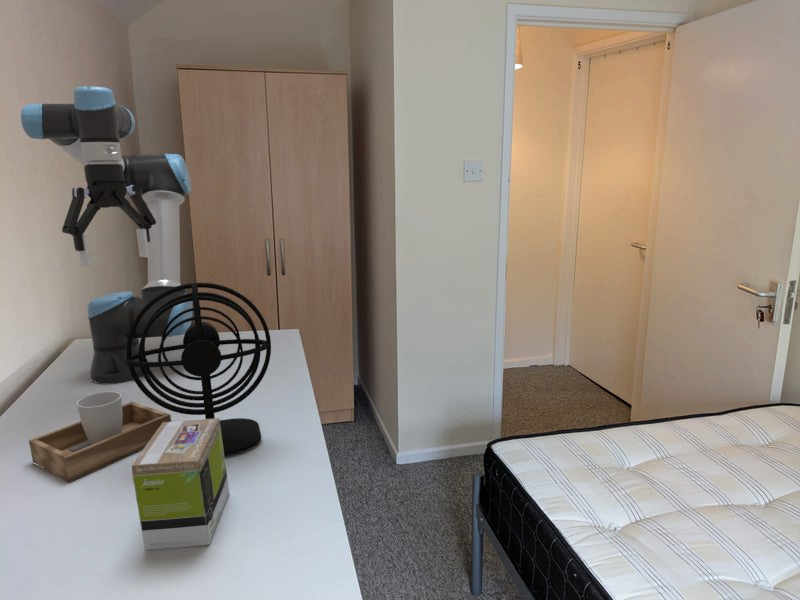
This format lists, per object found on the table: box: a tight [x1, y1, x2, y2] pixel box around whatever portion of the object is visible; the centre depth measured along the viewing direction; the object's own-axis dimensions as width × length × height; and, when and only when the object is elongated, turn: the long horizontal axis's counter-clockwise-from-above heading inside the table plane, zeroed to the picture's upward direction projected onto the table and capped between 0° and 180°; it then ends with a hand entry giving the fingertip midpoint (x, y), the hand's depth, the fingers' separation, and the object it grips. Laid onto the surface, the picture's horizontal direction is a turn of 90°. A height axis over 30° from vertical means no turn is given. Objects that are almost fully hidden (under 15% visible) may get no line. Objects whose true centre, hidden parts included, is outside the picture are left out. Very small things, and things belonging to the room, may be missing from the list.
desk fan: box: [125, 282, 272, 456], centre depth 116 cm, size 27×18×35 cm, turn 109°
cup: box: [76, 391, 123, 445], centre depth 118 cm, size 8×8×10 cm
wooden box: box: [28, 401, 172, 483], centre depth 119 cm, size 14×22×5 cm, turn 147°
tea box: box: [131, 417, 230, 551], centre depth 92 cm, size 15×10×15 cm, turn 5°
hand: (116, 261), depth 128 cm, fingers open, 13 cm apart
